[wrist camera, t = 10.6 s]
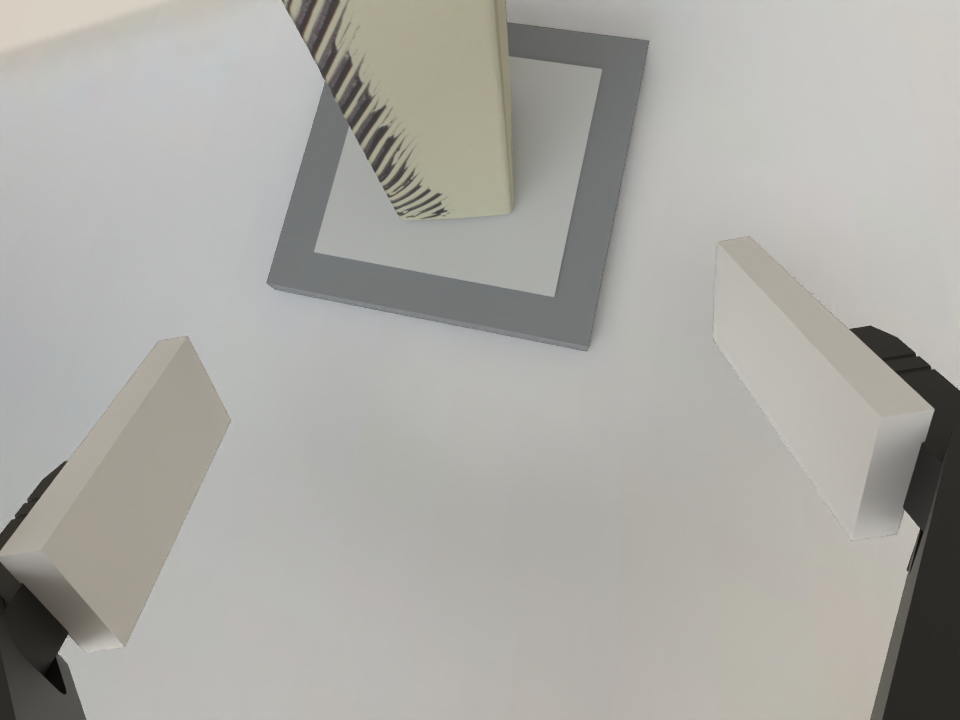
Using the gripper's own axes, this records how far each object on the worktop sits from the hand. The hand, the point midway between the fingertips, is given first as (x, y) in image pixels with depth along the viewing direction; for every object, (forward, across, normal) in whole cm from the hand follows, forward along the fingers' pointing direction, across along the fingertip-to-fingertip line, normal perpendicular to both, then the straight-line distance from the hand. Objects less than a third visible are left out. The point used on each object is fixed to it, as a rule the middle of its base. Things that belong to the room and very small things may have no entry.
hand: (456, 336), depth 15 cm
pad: (+11, 0, +1) cm, 11 cm away
